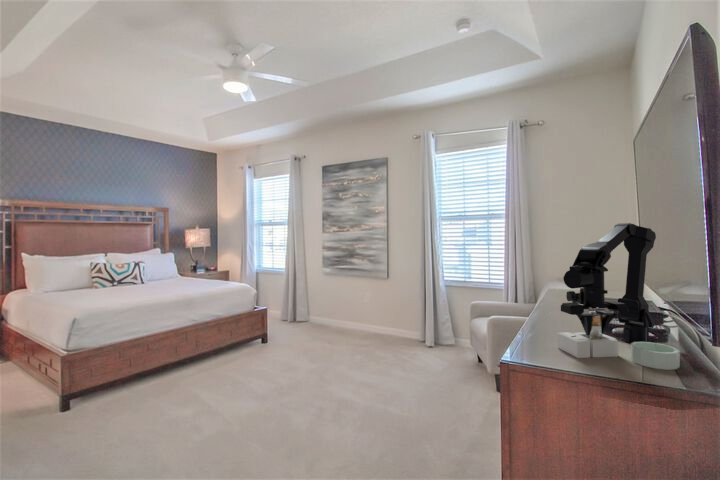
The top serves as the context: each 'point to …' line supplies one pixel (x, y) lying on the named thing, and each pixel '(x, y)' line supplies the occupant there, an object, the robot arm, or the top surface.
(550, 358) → the top surface
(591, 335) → the battery cell
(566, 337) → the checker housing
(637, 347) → the cup
